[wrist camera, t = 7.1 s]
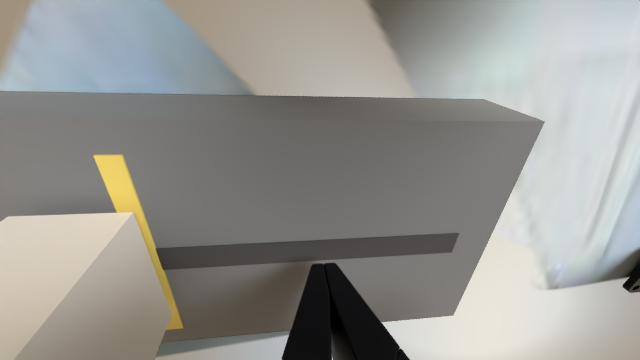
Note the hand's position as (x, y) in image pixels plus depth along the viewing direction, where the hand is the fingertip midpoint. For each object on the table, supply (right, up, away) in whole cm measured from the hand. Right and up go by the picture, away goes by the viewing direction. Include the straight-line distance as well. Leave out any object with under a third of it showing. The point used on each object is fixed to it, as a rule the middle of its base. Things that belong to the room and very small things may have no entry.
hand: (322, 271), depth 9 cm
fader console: (-2, +2, +3) cm, 4 cm away
